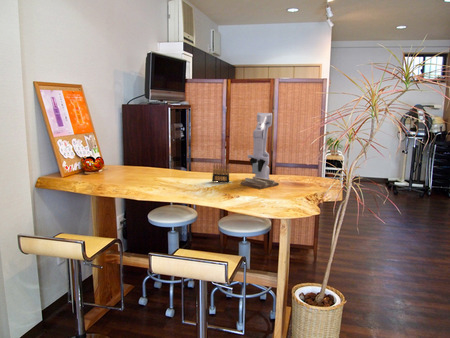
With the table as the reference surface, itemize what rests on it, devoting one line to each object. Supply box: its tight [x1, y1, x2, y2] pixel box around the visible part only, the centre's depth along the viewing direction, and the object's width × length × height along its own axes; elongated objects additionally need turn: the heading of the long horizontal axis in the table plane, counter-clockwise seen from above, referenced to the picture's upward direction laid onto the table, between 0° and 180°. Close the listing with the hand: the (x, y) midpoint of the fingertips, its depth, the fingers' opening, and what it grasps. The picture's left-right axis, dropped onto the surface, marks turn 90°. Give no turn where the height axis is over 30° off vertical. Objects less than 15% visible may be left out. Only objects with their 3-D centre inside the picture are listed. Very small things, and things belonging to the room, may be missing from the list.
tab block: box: [251, 163, 261, 174], centre depth 231 cm, size 4×4×6 cm
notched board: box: [239, 175, 280, 190], centre depth 231 cm, size 18×16×4 cm
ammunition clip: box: [211, 162, 230, 183], centre depth 234 cm, size 11×2×12 cm, turn 80°
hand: (256, 170), depth 232 cm, fingers closed on tab block, 4 cm apart
